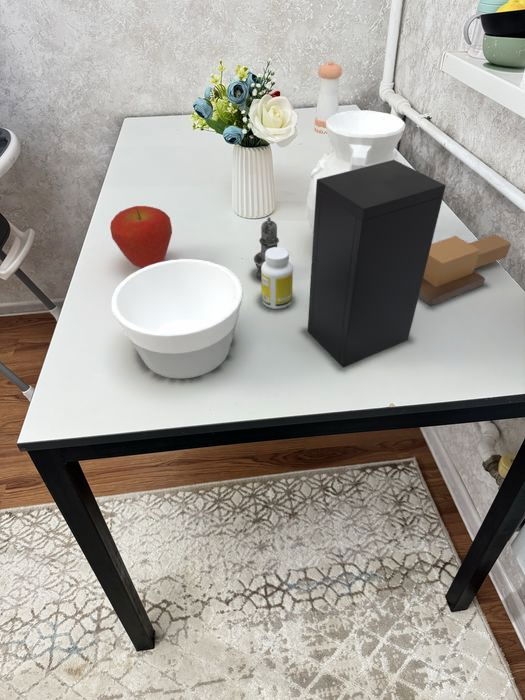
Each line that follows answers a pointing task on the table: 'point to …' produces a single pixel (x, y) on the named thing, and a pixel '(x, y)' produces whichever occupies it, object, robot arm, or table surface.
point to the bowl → (179, 315)
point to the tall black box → (369, 257)
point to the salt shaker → (327, 93)
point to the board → (449, 288)
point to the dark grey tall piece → (266, 243)
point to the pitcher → (355, 146)
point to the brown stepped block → (462, 257)
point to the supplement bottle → (277, 278)
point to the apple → (142, 234)
